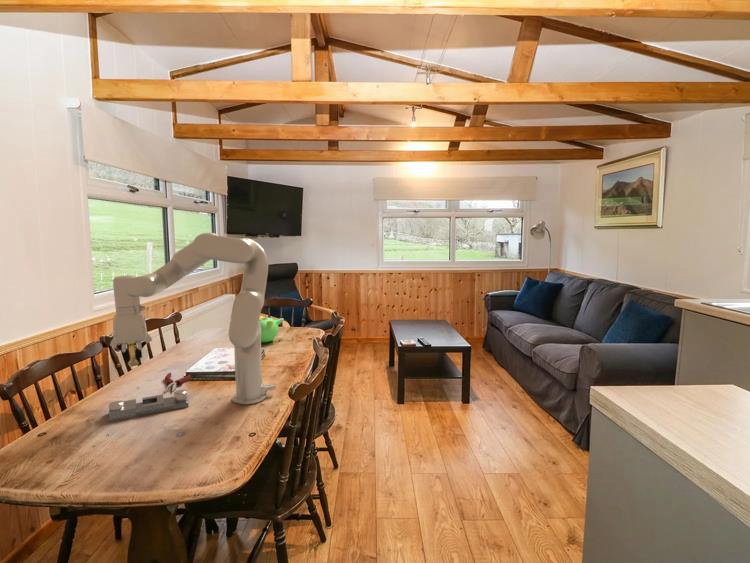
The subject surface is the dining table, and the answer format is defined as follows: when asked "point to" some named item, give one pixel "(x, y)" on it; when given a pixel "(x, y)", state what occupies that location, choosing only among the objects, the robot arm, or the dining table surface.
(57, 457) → the dining table surface
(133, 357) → the brass pin
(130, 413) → the grey notched rail
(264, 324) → the green teapot
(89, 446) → the dining table surface
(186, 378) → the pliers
